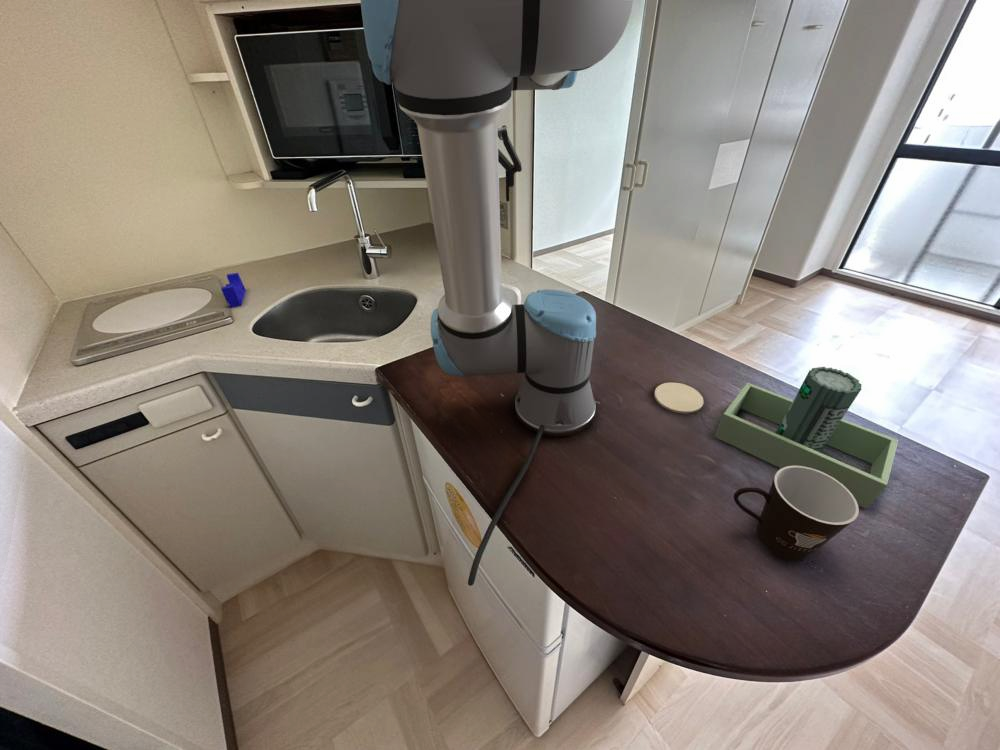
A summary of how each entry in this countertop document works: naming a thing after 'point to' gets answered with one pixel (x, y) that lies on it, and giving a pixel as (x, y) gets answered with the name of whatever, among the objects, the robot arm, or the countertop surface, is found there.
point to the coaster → (678, 398)
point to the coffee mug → (801, 511)
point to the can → (819, 407)
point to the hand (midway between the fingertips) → (480, 199)
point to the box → (791, 453)
